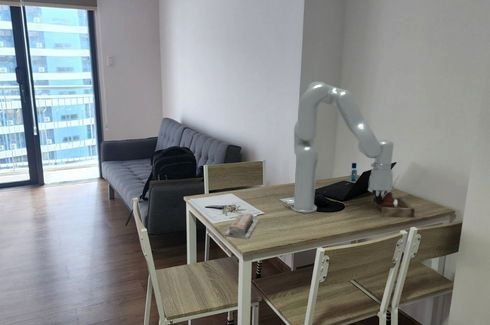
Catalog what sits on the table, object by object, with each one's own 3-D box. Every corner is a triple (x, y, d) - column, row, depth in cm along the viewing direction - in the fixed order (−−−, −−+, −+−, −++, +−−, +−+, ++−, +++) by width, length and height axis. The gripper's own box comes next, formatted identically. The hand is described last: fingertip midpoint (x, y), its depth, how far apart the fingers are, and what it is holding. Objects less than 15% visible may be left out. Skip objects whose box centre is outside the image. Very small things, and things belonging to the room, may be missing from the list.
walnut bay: (382, 216, 188) (383, 208, 187) (371, 204, 205) (372, 196, 204) (413, 217, 188) (414, 209, 187) (400, 205, 205) (401, 197, 204)
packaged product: (249, 228, 158) (224, 225, 161) (248, 240, 160) (224, 237, 162) (258, 213, 175) (236, 210, 178) (258, 223, 177) (236, 220, 179)
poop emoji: (378, 205, 203) (380, 187, 200) (396, 208, 200) (399, 190, 198) (377, 212, 194) (379, 193, 191) (396, 214, 191) (399, 195, 189)
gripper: (368, 167, 187) (364, 205, 192) (401, 169, 187) (396, 206, 192) (364, 163, 195) (360, 200, 199) (395, 165, 195) (390, 201, 199)
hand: (377, 203), depth 195 cm, fingers closed
